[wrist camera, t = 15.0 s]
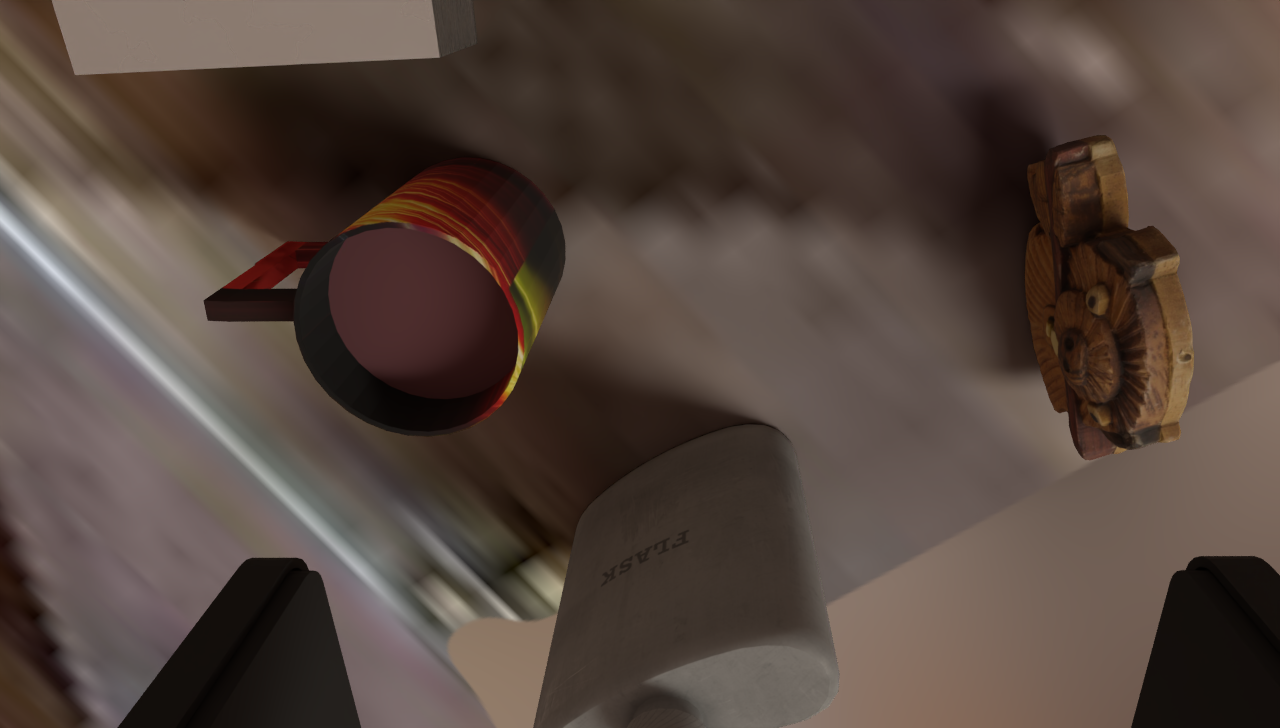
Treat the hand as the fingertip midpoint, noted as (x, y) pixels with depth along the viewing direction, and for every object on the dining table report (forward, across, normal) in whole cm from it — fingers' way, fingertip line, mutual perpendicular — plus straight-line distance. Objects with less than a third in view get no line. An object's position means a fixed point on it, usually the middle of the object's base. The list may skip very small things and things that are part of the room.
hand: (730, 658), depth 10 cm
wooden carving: (+37, -18, +9) cm, 42 cm away
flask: (+36, +2, +22) cm, 43 cm away
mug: (+37, +14, +7) cm, 40 cm away
